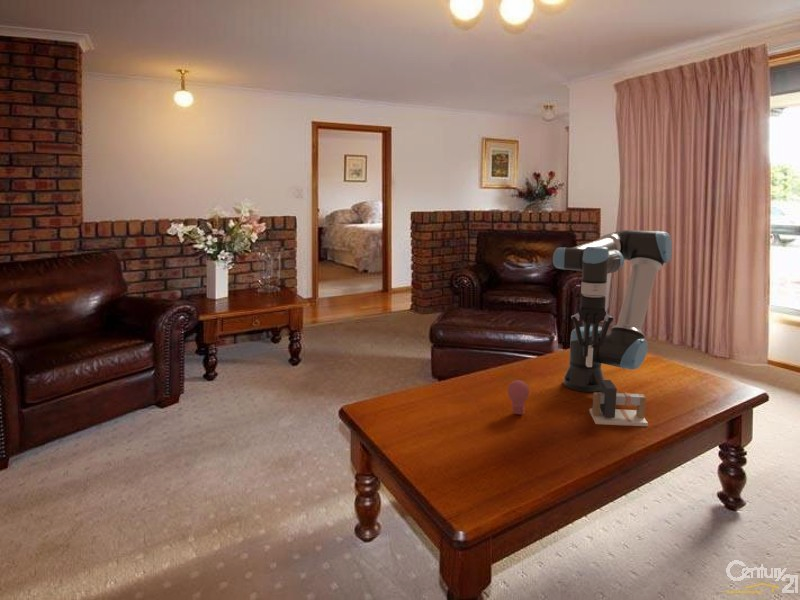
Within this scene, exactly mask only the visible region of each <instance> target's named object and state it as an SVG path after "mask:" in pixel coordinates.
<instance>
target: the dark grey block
mask: <svg viewBox="0 0 800 600" xmlns="http://www.w3.org/2000/svg"><path fill="white" fill-rule="evenodd" d="M617 390H618V388H617V387H616V385H615V384H614V382H612V380H611V379H604V380H601V391H600V393H604V394H605V402H604V404H600V409H601V411H602V413H603V415H604V416H605V417H607V418H615V409H616V407H617V406H616V405H617V404H616V393H618V392H617Z"/></svg>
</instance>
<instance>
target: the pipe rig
mask: <svg viewBox="0 0 800 600" xmlns="http://www.w3.org/2000/svg"><path fill="white" fill-rule="evenodd" d="M592 396H593V397H592V407H591V408H589V414H590V416H591V418H592V420H593V421H594V424H595V425H606V426H608V425H609V426H610V425H611V426H631V427H632V426H633V427H648V426H649V422H648V421H647V420H646V418H645V411H646V400H647V399H646V398H647V397H646V396H645V395H644V394H643V393H629V392H626V391H625V392H622V393H619V392H616V405H623V406H626V407H631V406H636V409H617V408H615V418H607V417H605V416H604V415H603V413H602V411H601V409H600V404H604V402H605V394H604V393H601V392H600V391H597V392H593V395H592Z"/></svg>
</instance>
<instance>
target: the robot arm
mask: <svg viewBox="0 0 800 600" xmlns="http://www.w3.org/2000/svg"><path fill="white" fill-rule="evenodd" d="M672 254H673V241H672V239H671V236H670V234H669V233H668V232H666V231H662V230H661V231H658V230H635V229H634V230H631V229H627V230H626V229H625V230H619V231H613V232H610V233H607V234H604V235H602V236H600V237H599V238H598V239H596V240H594V241H589V242H586V243H582V244H580V245H576V246H572V247H565V246H564V247H557V248H556V249H555V251H554V252H553V256H552V264H553V266H554V267H555V268H556V269H559V270H564V271H565V270H566V271H567V270H570V271H580V272H582V273H581V287H580V294H581V295H580V301H579V303H580V304H579V309H578V311H577V313H576V314H572V315H571V316H570V318H571V320H572V321H573V324H574V329H572V330H571V332H570V333H571V334H570V339H569V341H570V342H569V343H570V345H569V346H570V347H569V365H568V368H567V369H566V372H565V375H564V377H563V385H564V386H565V387H566V388H568V389H571V390H573V391H577V392H583V393H594V392H601V380H605V377H604V373H603V370H602V364H603V365H605V366H606V365H607V366H612V367H616V368H620V369H624V370H625V369H627V370H637V369H638V368H640V366H641V365H642V364H643V363H644V361H645V359H646V357H647V353H648V346H649V343H648V341H647V340H646V339H645V338H646V337H645V336H646V335H645V334H644V332H643V331H642V329H643V326H644V323H645V317H646V315H647V310H648V307H649V304H650V299H651V295H652V291H653V286H654V284H655V280H656V276H657V272H660V271H661V270H662V269H663V268H664V267H663V266H664V264H668V263H670V262H671V259H672ZM625 261H629V264H630V265H631V266H632V268H631V271H630V276H629V279H628V282H627V287H626V290H625V294H624V298H623V302H622V305H621V309H620V313H619V314H618V315H619V316H618V320H617V323H616V324H615V325H614V326H612V327H611V328H610V332H608V330H609V327H610V325H611V323H612V322H613V321H614V318H613V317H612V316H611V315H609V314H608V313H607V312H606V300H607V299H606V298H607V297H606V296H605V295H606V294H607V282H608V281H607V279H608V275H609V274H613V273H615V272H617V271H619V270H620V269H622V267H623V266H624V262H625ZM580 318H581V320H582V321H583V325H584V326H580V322H579V321H580ZM602 320H603V324H602V326H600V323H601V322H602ZM591 324H592V325H591Z"/></svg>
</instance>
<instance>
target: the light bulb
mask: <svg viewBox="0 0 800 600" xmlns="http://www.w3.org/2000/svg"><path fill="white" fill-rule="evenodd" d="M507 394H508V397H509V399H510V400H511V406H512V413H513V414H515V415H524V414H525V407H524V406H525V402H526V401H527V400H528V397H529V396H530V395H529V394H530V388H529V385H528V384H527V383H526V382H525V381H523V380H520V379H518V380H517V379H515V380H513V381H511V382H510V383H509V385H508V387H507Z"/></svg>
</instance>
